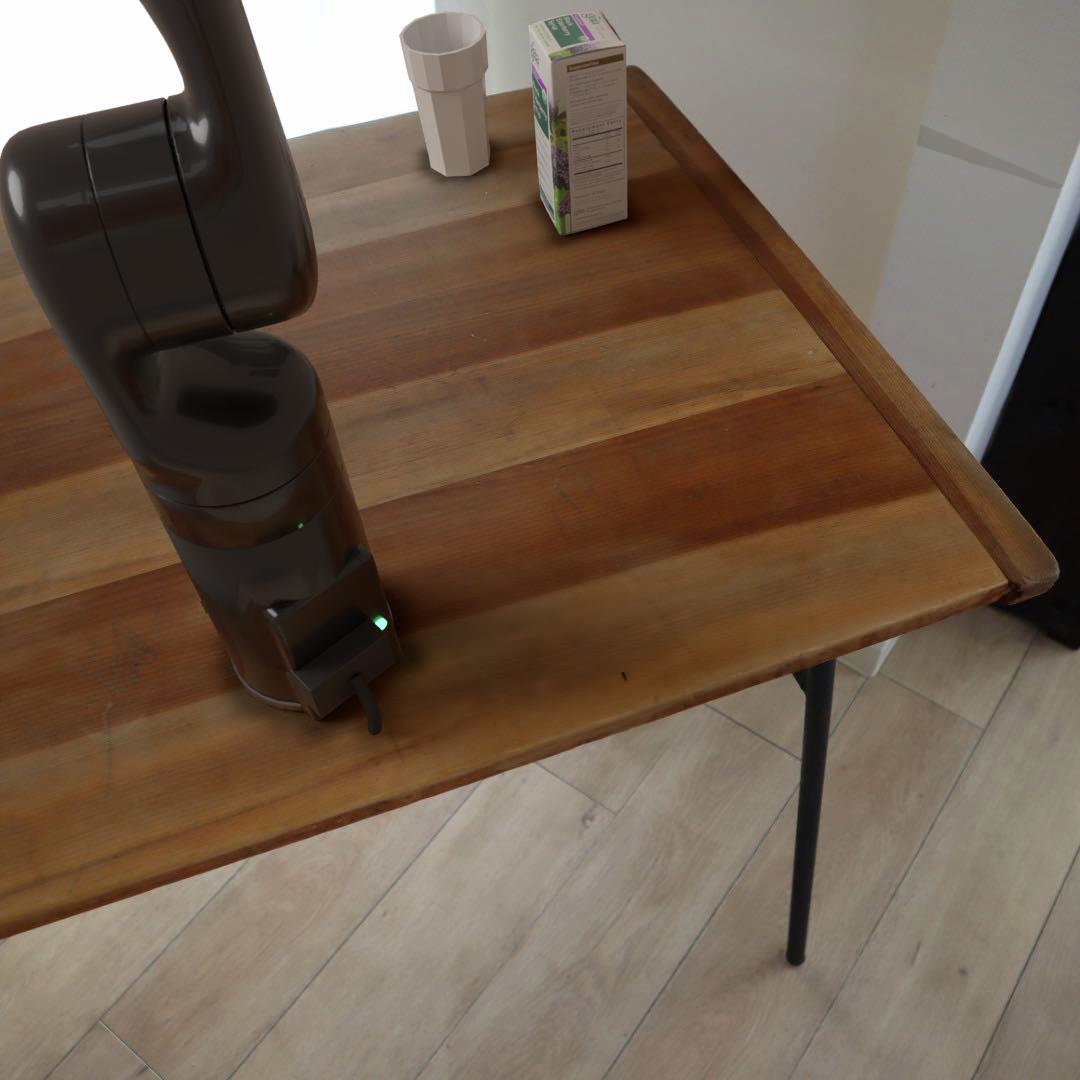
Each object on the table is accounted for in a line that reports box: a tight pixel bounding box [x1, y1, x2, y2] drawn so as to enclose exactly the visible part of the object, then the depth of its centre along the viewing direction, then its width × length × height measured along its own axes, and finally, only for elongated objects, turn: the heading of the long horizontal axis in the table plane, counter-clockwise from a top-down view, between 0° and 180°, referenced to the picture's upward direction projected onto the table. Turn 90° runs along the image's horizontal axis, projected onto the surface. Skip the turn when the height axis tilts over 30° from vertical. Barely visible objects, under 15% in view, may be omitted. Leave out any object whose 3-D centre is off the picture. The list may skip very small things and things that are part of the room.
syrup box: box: [528, 9, 629, 236], centre depth 87 cm, size 6×6×14 cm
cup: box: [398, 10, 491, 178], centre depth 94 cm, size 7×7×11 cm
